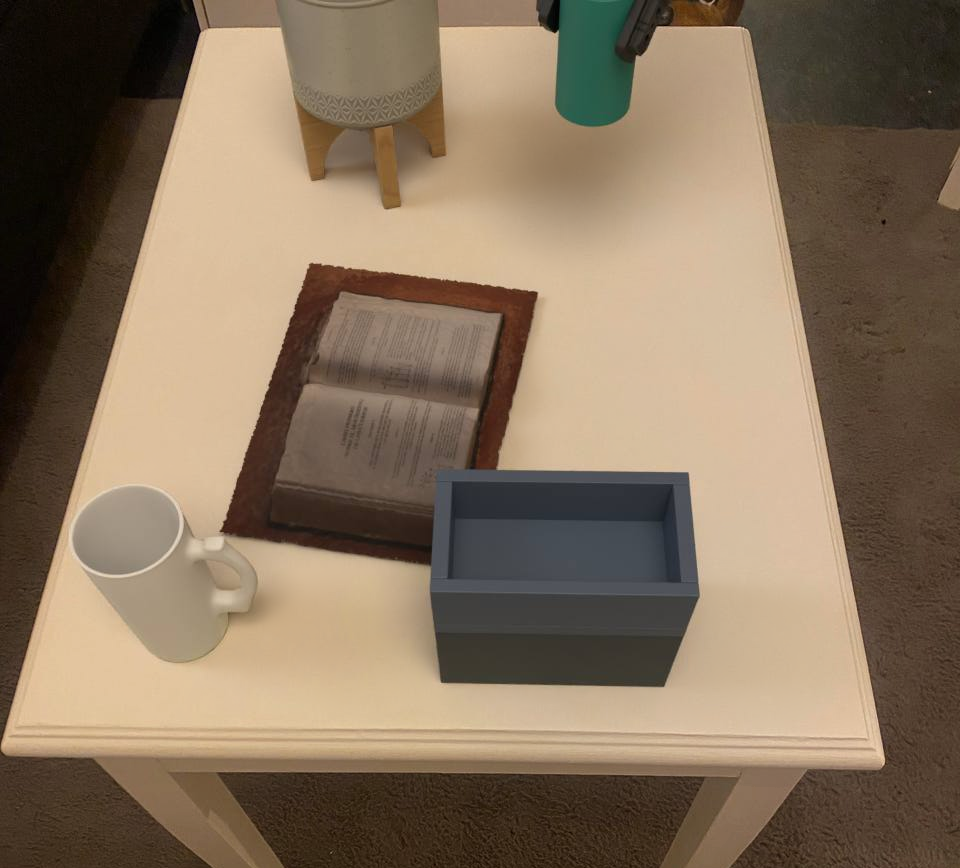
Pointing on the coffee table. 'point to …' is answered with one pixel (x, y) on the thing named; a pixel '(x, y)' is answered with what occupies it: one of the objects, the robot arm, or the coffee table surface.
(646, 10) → the robot arm
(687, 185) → the coffee table surface
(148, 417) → the coffee table surface
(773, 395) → the coffee table surface
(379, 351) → the book
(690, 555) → the open storage box
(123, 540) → the mug
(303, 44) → the planter
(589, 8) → the plastic bottle
